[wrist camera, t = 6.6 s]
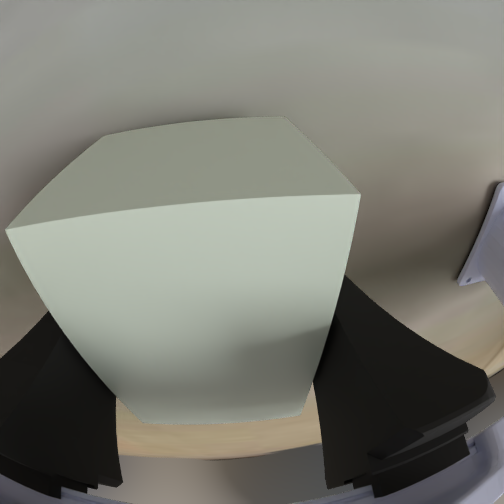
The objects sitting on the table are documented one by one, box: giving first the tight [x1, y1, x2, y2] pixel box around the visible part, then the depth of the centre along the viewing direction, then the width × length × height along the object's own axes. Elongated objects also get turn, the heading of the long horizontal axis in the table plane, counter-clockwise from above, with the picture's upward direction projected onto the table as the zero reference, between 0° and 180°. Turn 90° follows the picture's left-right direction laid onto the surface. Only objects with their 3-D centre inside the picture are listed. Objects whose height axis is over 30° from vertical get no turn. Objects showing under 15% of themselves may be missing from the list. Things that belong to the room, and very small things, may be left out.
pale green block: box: [5, 117, 361, 424], centre depth 8 cm, size 6×8×6 cm
